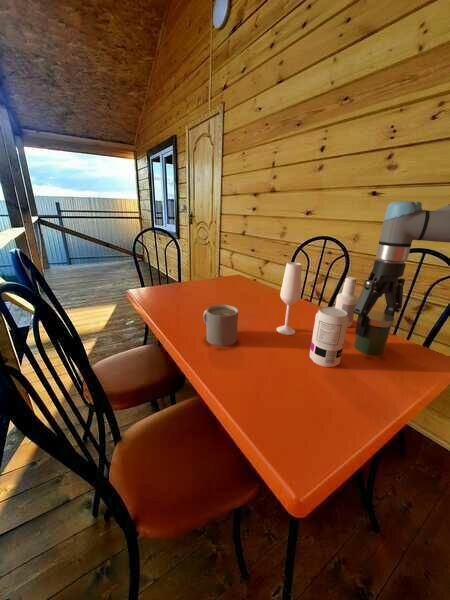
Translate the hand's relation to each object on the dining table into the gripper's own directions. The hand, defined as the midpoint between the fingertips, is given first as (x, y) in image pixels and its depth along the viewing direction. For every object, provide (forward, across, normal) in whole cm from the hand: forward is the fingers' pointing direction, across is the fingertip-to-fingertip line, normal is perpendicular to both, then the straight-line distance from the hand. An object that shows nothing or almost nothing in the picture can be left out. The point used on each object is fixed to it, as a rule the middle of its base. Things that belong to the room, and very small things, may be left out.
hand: (372, 332), depth 78 cm
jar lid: (-5, 0, 0) cm, 5 cm away
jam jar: (+6, 0, 0) cm, 6 cm away
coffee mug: (+6, +42, -23) cm, 48 cm away
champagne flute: (+6, +18, -19) cm, 27 cm away
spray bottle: (+6, -7, -17) cm, 19 cm away
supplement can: (+6, +18, 0) cm, 19 cm away
